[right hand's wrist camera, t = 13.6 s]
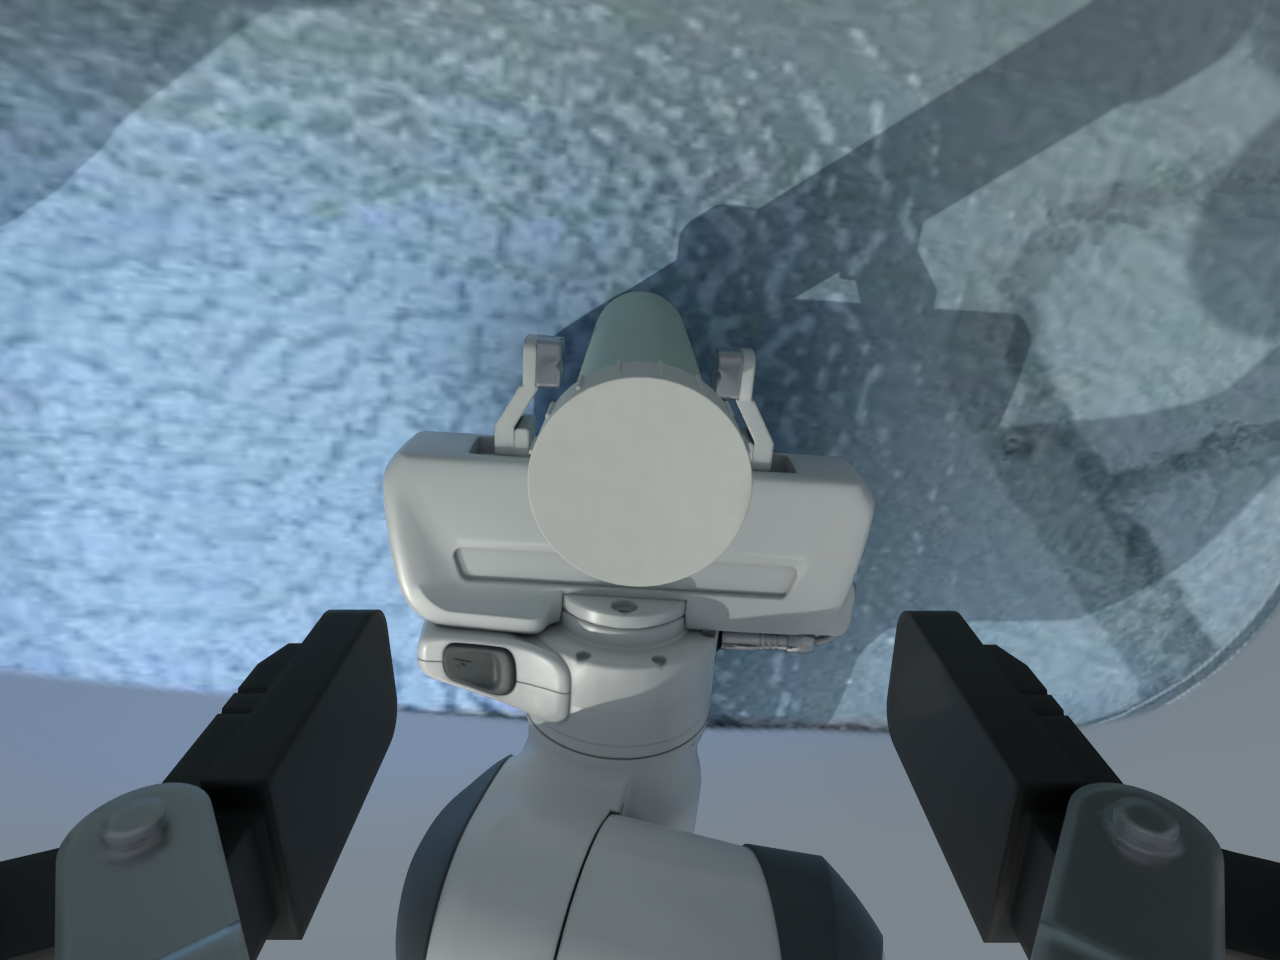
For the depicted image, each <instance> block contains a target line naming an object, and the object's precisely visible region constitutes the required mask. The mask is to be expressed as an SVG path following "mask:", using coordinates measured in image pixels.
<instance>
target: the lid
mask: <svg viewBox="0 0 1280 960" xmlns="http://www.w3.org/2000/svg"><path fill="white" fill-rule="evenodd" d="M545 417H546V418H545V420H544V423H543V425H542V428H541V430H540V432H539V435H538V436H535V438H534V440H533V443H532V445H531V447H530V450H529V454H531V457H530V461H529V466H528V476H527V484H528V489H527V490H528V496H529V501H530V506H531V509H532V512H533V515H534V518H535V520H536V523H537V525H538V527H539V529H540V531H541V532H542V534H543V535H544V537H545V538H546V540H547V541H548V543H549V544H550V545H551V546H552V547H553V548H554V550H555V551H556V552H557V553H558V554H559V555H560V556H561V557H563V558H564V559H565V560H566V561H567V562H568V563H570V564H571V565H573V566H574V567H576V568H577V569H579V570H580V571H582V572H584V573H586V574H588V575H590V576H592V577H595V578H597V579H600V580H603V581H606V582H610V583H614V584H618V585H625V586H655V585H662V584H666V583H671V582H674V581H677V580H680V579H683V578H686V577H688V576H690V575H692V574H694V573H696V572H698V571H700V570H701V569H703V568H704V567H706V566H707V565H709V564H710V563H712V562H713V561H714V560H715V559H716V558H717V557H719V556H720V555H721V554H722V553H723V552H724V551H725V550H726V548H727V547H728V546H729V545H730V544H731V543H732V541H733V540H734V538H735V537H736V535H737V534H738V532H739V530H740V529H741V527H742V525H743V523H744V521H745V518H746V515H747V512H748V510H749V506H750V501H751V497H752V490H753V487H752V486H753V477H752V466H751V461H750V457H749V453H751V450H750V447H749V445H748V442H747V440H746V438H745V435H742V434H741V432H740V430H739V427H738V425H737V422H736V420H735V418H734V413H733V411H732V409H731V406H730V404H729V402H728V401H725V402H724V401H723V400H722V398H721V397H720V396H719V395H718V394H717V393H716V392H715V391H714V390H713V389H712V388H711V387H709V386H708V385H707V384H706V383H704V382H703V381H702V380H701V377H700V375H698V374H696V376H694V375H692V374H690V373H688V372H686V371H683V370H681V369H679V368H676V367H673V366H669V365H666V364H663V362H662V361H661V360H658V363H654V362H635V361H634V362H626V363H621V360H619V361H617V363H616V364H615V365H611V366H607V367H604V368H602V369H599V370H597V371H594V372H592V373H590V374H588V375H587V376H585V377H584V376H583V375H580V376H579V378H578V381H577V382H576V383H574V384H573V385H572V386H570V387H569V388H568V389H567V390H566V391H565V392H564V393H563V394H562V395H561V396H560V397H559V399H558V400H557V401H556V402H553V401H552V402H551V404H550V406H549V408H548V411H547V413H546V415H545Z"/></svg>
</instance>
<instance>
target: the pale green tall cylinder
mask: <svg viewBox="0 0 1280 960" xmlns="http://www.w3.org/2000/svg"><path fill="white" fill-rule="evenodd" d="M619 360H621V363H626V362H634V361H635V362H654V363H658V360H661V361H662V362H663V364H666V365H669V366H673V367H676V368H679V369H681V370H683V371H686V372H688V373H690V374H692V375H694V376H696V374H698V375H700V377H701V374H700V371H699V368H698V365H697V362H696V359H695V356H694V353H693V350H692V347H691V344H690V340H689V337H688V334H687V331H686V328H685V325H684V322H683V320H682V317H681V315H680V313H679V312H678V310H677V309H676V308H675V307H674V306H673V304H672V303H670V302H669V301H668V300H667V299H665V298H664V297H662V296H660V295H658V294H655V293H652V292H647V291H633V292H628V293H625V294H622V295H620V296H618V297H616V298H615V299H613V300H612V301H611V302H609V303H608V304H607V305H606V306H605V308H604V309H603V310H602V312H601V314H600V315H599V317H598V320H597V322H596V325H595V328H594V331H593V334H592V337H591V340H590V343H589V347H588V350H587V353H586V356H585V359H584V362H583V365H582V368H581V371H580V374H579V376H580V375H583V376H584V377H585V376H587V375H588V374H590V373H592V372H594V371H597V370H599V369H602V368H604V367H607V366H611V365H615V364H616V363H617V361H619ZM578 378H579V377H578ZM701 380H702V377H701ZM577 381H578V380H577ZM702 381H703V380H702Z"/></svg>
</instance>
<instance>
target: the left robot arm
mask: <svg viewBox="0 0 1280 960" xmlns="http://www.w3.org/2000/svg"><path fill="white" fill-rule="evenodd" d="M564 348H565V340H564V337H557V336H545V335H529V334H528V336H527V337H526V338H525V342H524V349H523V381H522V383H521V384H520V386H519V388H518V389H517V391H516V392H515V394H514V396H513V397H512V399H511V401H510V402H509V404H508V405H507V407H506V409H505V410H504V412H503V414H502V415H501V417H500V418H499V420H498V422H497V423H496V425H495V435H483V434H466V433H450V432H435V431H422V432H419V433H417V434H415V435H414V436H413V437H412V438H411V439H410V440H408V441H407V442H406V443H405V444H404V445H403V446H402V447H401V448H400V449H399V450H398V451H397V452H396V453H395V455H394V456H393V457H392V459H391V460H390V461H389V463H388V465H387V467H386V470H385V473H384V478H383V492H384V506H385V515H386V524H387V531H388V538H389V543H390V549H391V555H392V559H393V564H394V568H395V573H396V577H397V581H398V584H399V587H400V589H401V592H402V594H403V596H404V598H405V600H406V601H407V603H408V604H409V605H410V607H411V608H412V609H413V610H414V611H415V612H416V613H417V614H419V615H420V616H421V617H423V618H424V619H425V621H424V624H423V627H422V630H421V634H420V638H419V642H418V649H417V659H418V664H419V667H420V669H421V670H422V671H423V672H424V673H425V674H426V675H428V676H429V677H431V678H434V679H436V680H439V681H442V682H445V683H448V684H451V685H454V686H457V687H460V688H464V689H467V690H470V691H473V692H476V693H478V694H481V695H484V696H487V697H490V698H492V699H495V700H498V701H500V702H503V703H505V704H508V705H510V706H512V707H515V708H517V709H519V710H522V711H524V712H526V713H527V717H528V722H529V734H528V739H527V742H526V744H525V747H524V749H523V751H522V752H521V753H520V754H519V755H517V756H513V755H509V756H507V757H505V758H503V759H502V760H500V761H499V762H497V763H496V764H494V765H493V766H492V767H490V768H489V769H488V770H487V771H486V772H484V773H483V774H482V775H481V776H479V777H478V778H477V779H476V780H475V781H474V782H472V783H471V784H470V785H469V786H468V787H467V788H465V789H464V790H463V791H462V792H460V793H459V794H458V795H457V796H456V797H455V798H454V799H453V800H452V801H450V802H449V803H448V804H447V806H446V807H445V808H444V809H443V810H442V811H441V812H440V814H439V815H438V816H437V817H436V819H435V820H434V822H433V823H432V824H431V826H430V828H429V829H428V831H427V832H426V834H425V836H424V838H423V839H422V841H421V843H420V845H419V847H418V848H417V850H416V852H415V855H414V857H413V859H412V861H411V864H410V866H409V870H408V872H407V876H406V879H405V883H404V886H403V891H402V895H401V900H400V905H399V912H398V919H397V928H396V960H886V958H885V954H884V950H883V936H882V934H881V932H880V930H879V929H878V927H877V925H876V924H875V922H874V921H873V919H872V918H871V916H870V915H869V913H868V912H867V910H866V909H865V907H864V906H863V905H862V903H861V902H860V900H859V899H858V898H857V896H856V895H855V894H854V892H853V891H852V890H851V889H850V887H849V886H848V885H847V884H846V883H845V881H844V880H843V879H842V878H841V877H840V875H839V874H838V873H837V872H836V871H835V870H834V869H833V868H832V867H831V865H830V864H829V863H828V862H827V861H826V860H825V859H824V858H823V857H822V856H819V855H812V854H806V853H800V852H794V851H788V850H782V849H776V848H770V847H764V846H758V845H752V844H744V845H742V846H740V845H736V844H732V843H728V842H724V841H721V840H717V839H713V838H709V837H705V836H701V835H697V834H693V833H694V828H695V822H696V815H697V809H698V803H699V795H700V787H701V769H700V763H699V759H698V755H697V744H698V742H699V740H700V738H701V736H702V734H703V732H704V730H705V727H706V725H707V721H708V716H709V711H710V703H711V694H712V686H713V677H714V669H715V660H716V651H718V649H723V650H741V651H757V650H758V651H761V650H769V649H770V650H780V651H785V652H787V653H795V654H803V653H810V652H813V651H814V650H815V646H819V645H824V644H827V643H829V642H831V641H833V640H835V639H836V638H838V637H839V636H841V635H843V634H844V633H845V632H846V631H847V629H848V627H849V625H850V622H851V617H852V611H853V606H854V601H855V595H856V587H855V583H854V578H855V576H856V573H857V570H858V567H859V565H860V562H861V559H862V556H863V553H864V549H865V546H866V542H867V539H868V535H869V532H870V528H871V524H872V520H873V515H874V510H875V500H874V496H873V493H872V492H871V490H870V488H869V486H868V485H867V483H866V481H865V480H864V478H863V477H862V476H861V474H860V473H859V472H858V471H857V470H856V469H855V468H854V467H853V466H852V464H851V463H850V462H849V461H847V460H846V459H845V458H842V457H837V456H822V455H806V454H790V453H773V448H774V443H773V440H772V438H771V436H770V434H769V432H768V429H767V427H766V425H765V423H764V420H763V418H762V416H761V414H760V411H759V409H758V407H757V405H756V402H755V400H754V398H753V397H752V393H753V384H754V376H755V368H756V355H755V353H754V351H753V350H752V349H746V348H730V347H716V350H715V358H714V361H715V364H716V366H717V367H716V369H715V370H714V371H713V378H712V389H713V390H714V391H715V392H716V393H717V394H718V395H719V396H720V397H721V398H728V399H735V400H736V403H737V405H738V407H739V409H740V411H741V413H742V416H743V418H744V420H745V422H746V424H747V427H748V430H746V429H745V428H739V430H740V432H741V434H742V435H745V438H746V440H747V442H748V445H749V447H750V450H751V453H749V457H750V461H751V466H752V477H753V486H752V487H753V490H752V497H751V501H750V506H749V510H748V512H747V515H746V518H745V521H744V523H743V525H742V527H741V529H740V530H739V532H738V534H737V535H736V537H735V538H734V540H733V541H732V543H731V544H730V545H729V546H728V547H727V548H726V550H725V551H724V552H723V553H722V554H721V555H720V556H719V557H717V558H716V559H715V560H714V561H713V562H712V563H710V564H709V565H707V566H706V567H704V568H703V569H701V570H700V571H698V572H696V573H694V574H692V575H690V576H688V577H686V578H683V579H680V580H677V581H674V582H671V583H666V584H662V585H655V586H625V585H618V584H614V583H610V582H606V581H603V580H600V579H597V578H595V577H592V576H590V575H588V574H586V573H584V572H582V571H580V570H579V569H577V568H576V567H574V566H573V565H571V564H570V563H568V562H567V561H566V560H565V559H564V558H563V557H561V556H560V555H559V554H558V553H557V552H556V551H555V550H554V548H553V547H552V546H551V545H550V544H549V543H548V541H547V540H546V538H545V537H544V535H543V534H542V532H541V531H540V529H539V527H538V525H537V523H536V520H535V518H534V515H533V512H532V509H531V506H530V501H529V496H528V490H527V489H528V484H527V476H528V466H529V461H530V457H531V454H529V450H530V447H531V445H532V443H533V440H534V438H535V416H534V415H530V414H524V415H523V416H522V414H523V413H524V411H525V409H526V408H527V406H528V405H529V403H530V401H531V400H532V398H533V396H534V395H535V393H536V392H537V390H538V388H539V387H560V385H561V381H562V380H563V377H564V361H563V359H562V355H563V353H564ZM815 635H822V636H818V637H815Z"/></svg>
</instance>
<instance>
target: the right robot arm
mask: <svg viewBox="0 0 1280 960" xmlns="http://www.w3.org/2000/svg"><path fill="white" fill-rule="evenodd" d="M1063 711H1064V710H1063V709H1062V708H1061V707H1060V705H1059V704H1058V703H1057V702H1056V700H1055V699H1054V698H1053V697H1052V696H1051V695H1048V694H1047V689H1046V688H1045V687H1044V686H1043V684H1042V683H1041V682H1040V681H1039V680H1038V678H1037V677H1036V676H1035V675H1034V673H1033V672H1032V671H1031V670H1030V668H1029V667H1028V666H1027V665H1026V664H1024V663H1023V662H1021V661H1020V660H1018V659H1017V658H1015V657H1014V656H1012V655H1011V654H1009V653H1008V652H1006V651H1005V650H1003V649H1002V648H1000V647H999V646H997V645H983V644H982V643H981V641H980V640H979V639H978V637H977V636H976V635H975V633H974V632H973V631H972V629H971V628H970V627H969V625H968V624H967V623H966V621H965V620H964V619H963V617H962V616H961V615H960V614H959V613H958V612H956V611H904V612H902V614H901V615H900V617H899V620H898V624H897V630H896V637H895V644H894V652H893V659H892V666H891V673H890V681H889V688H888V695H887V720H888V727H889V732H890V736H891V739H892V742H893V744H894V747H895V749H896V751H897V753H898V755H899V758H900V760H901V762H902V764H903V766H904V769H905V771H906V773H907V775H908V777H909V780H910V782H911V784H912V786H913V788H914V791H915V793H916V795H917V797H918V799H919V801H920V804H921V806H922V808H923V810H924V812H925V815H926V817H927V819H928V821H929V823H930V826H931V828H932V830H933V832H934V834H935V837H936V839H937V841H938V843H939V845H940V847H941V850H942V852H943V854H944V856H945V858H946V860H947V863H948V865H949V867H950V869H951V872H952V874H953V876H954V878H955V880H956V883H957V885H958V887H959V889H960V891H961V893H962V896H963V898H964V900H965V902H966V904H967V907H968V909H969V911H970V913H971V915H972V918H973V920H974V922H975V924H976V926H977V929H978V931H979V933H980V935H981V937H982V939H983V942H984V943H1020V944H1021V946H1022V948H1023V950H1024V951H1025V953H1026V955H1027V957H1028V959H1029V960H1280V863H1278V862H1274V861H1270V860H1265V859H1261V858H1257V857H1253V856H1248V855H1244V854H1240V853H1235V852H1231V851H1228V850H1224V849H1221V848H1220V845H1219V843H1218V842H1217V840H1216V839H1215V837H1214V836H1213V835H1212V833H1211V832H1210V831H1209V830H1208V829H1207V828H1206V827H1205V826H1204V825H1203V824H1202V823H1201V822H1200V821H1199V820H1198V819H1197V818H1195V817H1194V816H1193V815H1191V814H1190V813H1189V812H1187V811H1186V810H1185V809H1183V808H1181V807H1180V806H1178V805H1177V804H1175V803H1173V802H1171V801H1169V800H1167V799H1165V798H1163V797H1161V796H1159V795H1157V794H1154V793H1152V792H1149V791H1147V790H1144V789H1140V788H1137V787H1134V786H1129V785H1125V784H1123V783H1122V782H1121V780H1120V779H1119V778H1118V777H1117V776H1116V774H1115V773H1114V772H1113V771H1112V769H1111V768H1110V767H1109V766H1108V765H1107V763H1106V762H1105V761H1104V760H1103V758H1102V757H1101V756H1100V755H1099V753H1098V752H1097V751H1096V750H1095V748H1094V747H1093V746H1092V745H1091V744H1090V742H1089V741H1088V740H1087V739H1086V737H1085V736H1084V735H1083V734H1082V732H1081V731H1080V730H1079V729H1078V728H1077V726H1076V725H1075V724H1074V723H1073V721H1072V720H1071V719H1070V718H1069V716H1064V713H1063ZM396 718H397V695H396V687H395V680H394V673H393V665H392V658H391V650H390V643H389V635H388V628H387V622H386V618H385V616H384V614H383V612H382V611H381V610H328V611H326V612H325V613H324V614H323V615H322V617H321V618H320V620H319V621H318V622H317V624H316V625H315V626H314V628H313V629H312V630H311V632H310V633H309V634H308V636H307V637H306V638H305V640H304V641H303V642H302V643H289V644H287V645H286V646H284V647H283V648H281V649H280V650H278V651H277V652H275V653H274V654H272V655H271V656H269V657H268V658H266V659H265V660H263V661H262V662H260V663H259V664H257V666H256V667H255V668H254V669H253V671H252V672H251V673H250V674H249V676H248V677H247V678H246V679H245V681H244V682H243V683H242V684H241V686H240V687H239V688H238V693H234V694H233V695H232V697H231V698H230V699H229V700H228V702H227V703H226V704H225V705H224V707H223V708H222V713H221V714H217V715H216V717H215V718H214V719H213V720H212V722H211V723H210V724H209V725H208V727H207V728H206V729H205V730H204V731H203V733H202V734H201V735H200V737H199V738H198V739H197V740H196V742H195V743H194V744H193V745H192V746H191V748H190V749H189V750H188V751H187V753H186V754H185V755H184V756H183V758H182V759H181V760H180V761H179V763H178V764H177V765H176V766H175V768H174V769H173V770H172V771H171V772H170V774H169V775H168V776H167V777H166V779H165V780H164V781H163V782H162V784H155V785H151V786H146V787H143V788H140V789H136V790H133V791H131V792H128V793H126V794H123V795H121V796H119V797H117V798H115V799H113V800H111V801H109V802H107V803H105V804H104V805H102V806H100V807H99V808H97V809H95V810H94V811H93V812H91V813H90V814H89V815H87V816H86V817H85V818H83V819H82V820H81V821H80V822H79V823H78V824H77V825H76V826H75V827H74V828H73V829H72V830H71V831H70V832H69V833H68V835H67V836H66V837H65V839H64V840H63V842H62V843H61V845H60V848H57V849H53V850H49V851H44V852H40V853H36V854H31V855H27V856H23V857H19V858H14V859H10V860H6V861H1V862H0V960H256V959H257V957H258V955H259V953H260V951H261V949H262V947H263V945H264V943H265V941H266V940H302V938H303V936H304V934H305V932H306V929H307V927H308V925H309V923H310V921H311V918H312V916H313V914H314V912H315V909H316V907H317V905H318V903H319V901H320V898H321V896H322V894H323V892H324V889H325V887H326V885H327V883H328V881H329V878H330V876H331V874H332V872H333V869H334V867H335V865H336V863H337V861H338V858H339V856H340V854H341V852H342V849H343V847H344V845H345V843H346V841H347V838H348V836H349V834H350V832H351V830H352V827H353V825H354V823H355V821H356V818H357V816H358V814H359V812H360V810H361V807H362V805H363V803H364V800H365V798H366V796H367V794H368V792H369V790H370V787H371V785H372V783H373V781H374V778H375V776H376V774H377V772H378V770H379V767H380V765H381V763H382V761H383V758H384V756H385V754H386V752H387V750H388V747H389V745H390V743H391V740H392V737H393V734H394V730H395V725H396Z"/></svg>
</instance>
